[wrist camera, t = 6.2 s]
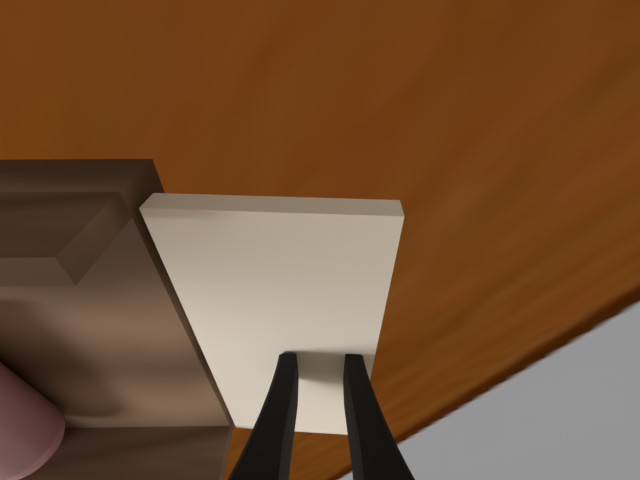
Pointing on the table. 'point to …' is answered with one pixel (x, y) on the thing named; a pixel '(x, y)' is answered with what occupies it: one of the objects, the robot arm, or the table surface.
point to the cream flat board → (279, 290)
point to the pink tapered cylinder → (26, 427)
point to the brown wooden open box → (103, 325)
